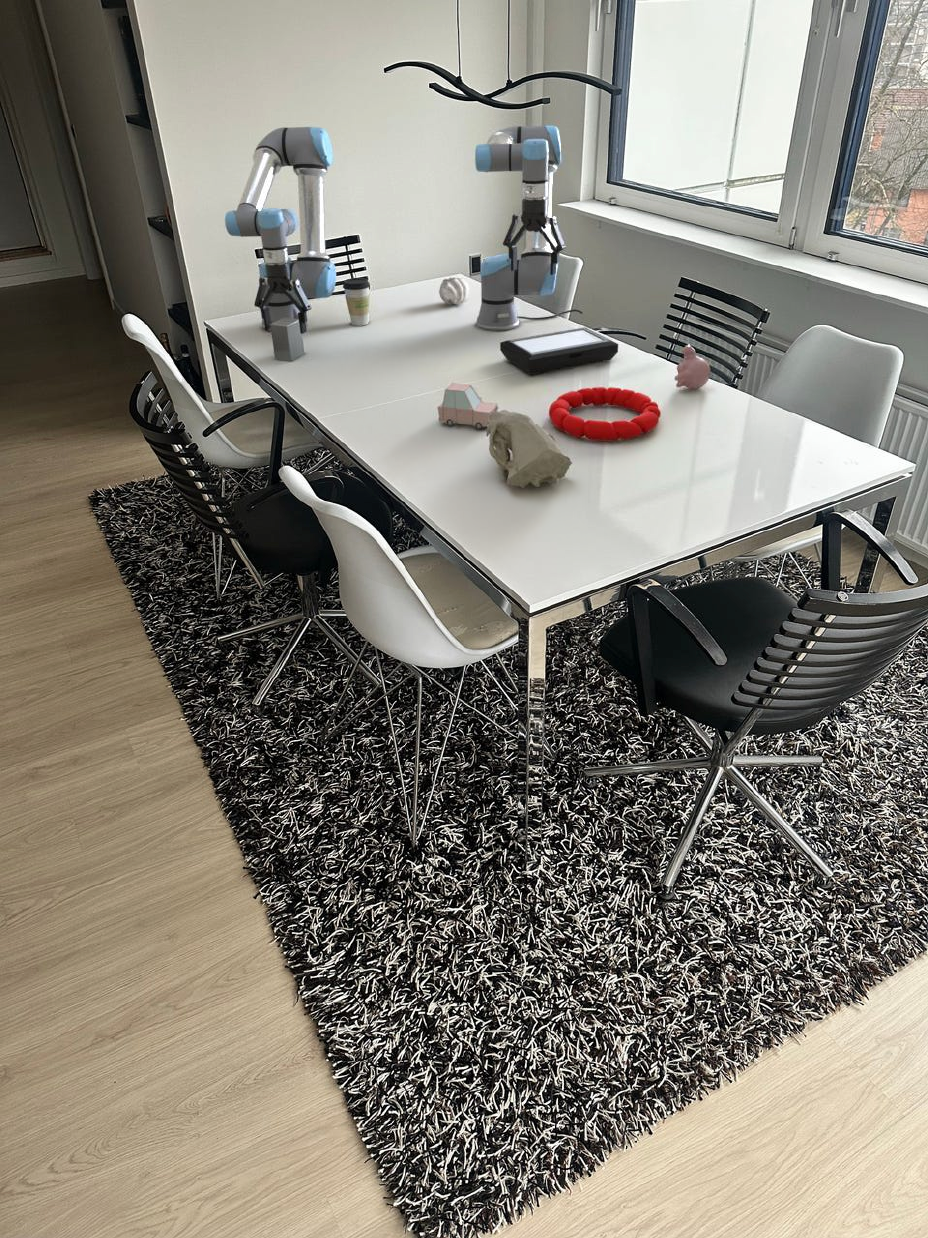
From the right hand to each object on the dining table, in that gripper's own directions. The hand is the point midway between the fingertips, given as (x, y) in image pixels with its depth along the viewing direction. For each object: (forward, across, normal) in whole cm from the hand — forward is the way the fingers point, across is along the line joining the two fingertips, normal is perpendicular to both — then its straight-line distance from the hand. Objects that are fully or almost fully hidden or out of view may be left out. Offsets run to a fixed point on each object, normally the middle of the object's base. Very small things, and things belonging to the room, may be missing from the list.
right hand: (533, 271), depth 278 cm
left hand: (+17, -72, -36) cm, 83 cm away
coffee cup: (+26, -73, +5) cm, 77 cm away
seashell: (+26, -53, +41) cm, 72 cm away
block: (+26, -73, -36) cm, 85 cm away
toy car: (+26, +10, -61) cm, 67 cm away
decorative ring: (+26, +43, -44) cm, 67 cm away
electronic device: (+26, +10, -2) cm, 28 cm away
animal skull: (+26, +36, -81) cm, 93 cm away
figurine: (+26, +56, -10) cm, 63 cm away
